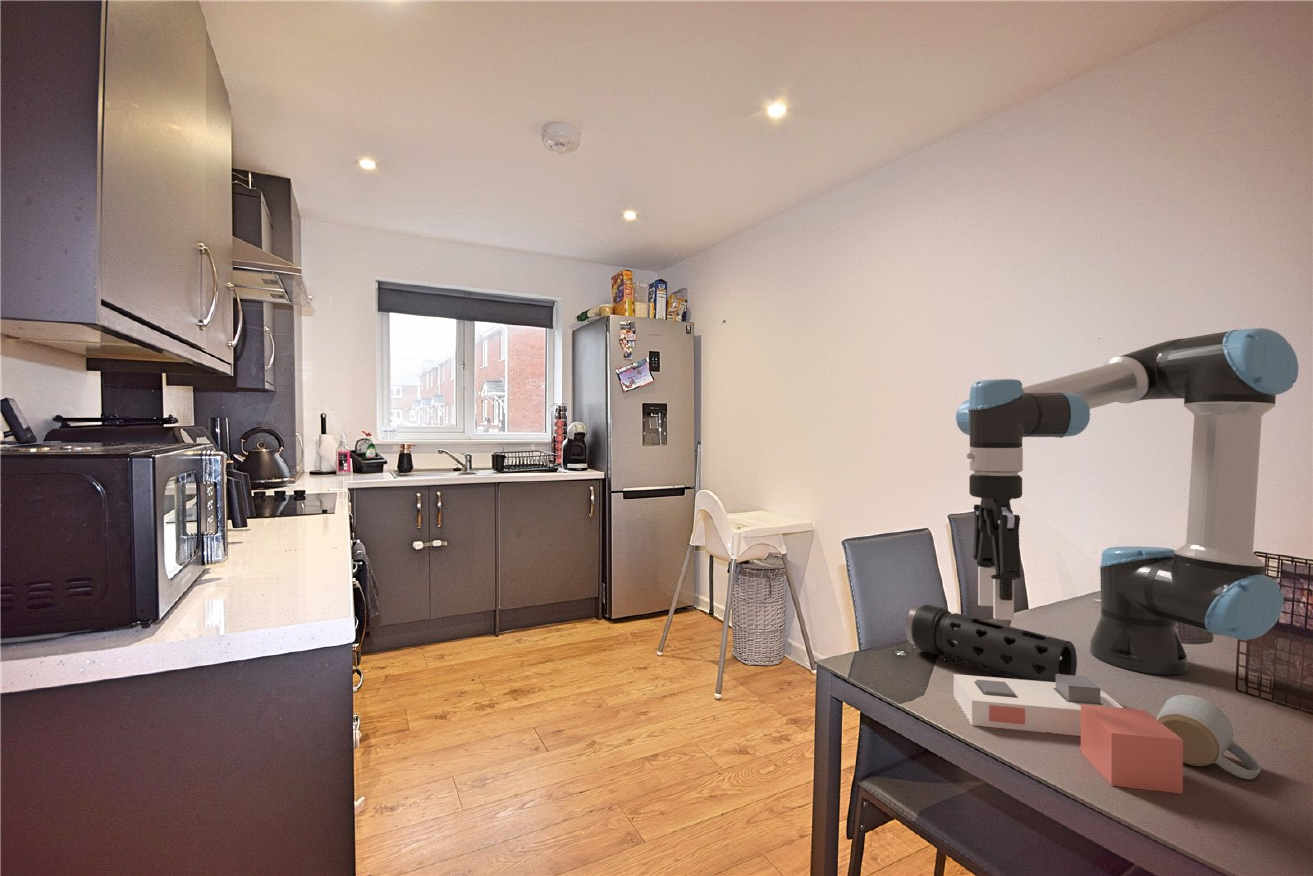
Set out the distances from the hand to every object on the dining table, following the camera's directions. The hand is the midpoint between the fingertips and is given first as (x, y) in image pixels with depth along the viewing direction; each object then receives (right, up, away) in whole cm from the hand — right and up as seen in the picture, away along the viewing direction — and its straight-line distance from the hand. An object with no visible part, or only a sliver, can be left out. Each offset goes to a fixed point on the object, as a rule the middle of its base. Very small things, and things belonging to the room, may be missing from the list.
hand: (995, 611), depth 94 cm
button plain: (+12, -14, -2) cm, 19 cm away
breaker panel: (+6, -17, -1) cm, 18 cm away
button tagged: (0, -16, 0) cm, 16 cm away
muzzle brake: (+8, -17, +17) cm, 25 cm away
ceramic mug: (+22, -17, -13) cm, 31 cm away
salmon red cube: (+9, -17, -16) cm, 25 cm away
